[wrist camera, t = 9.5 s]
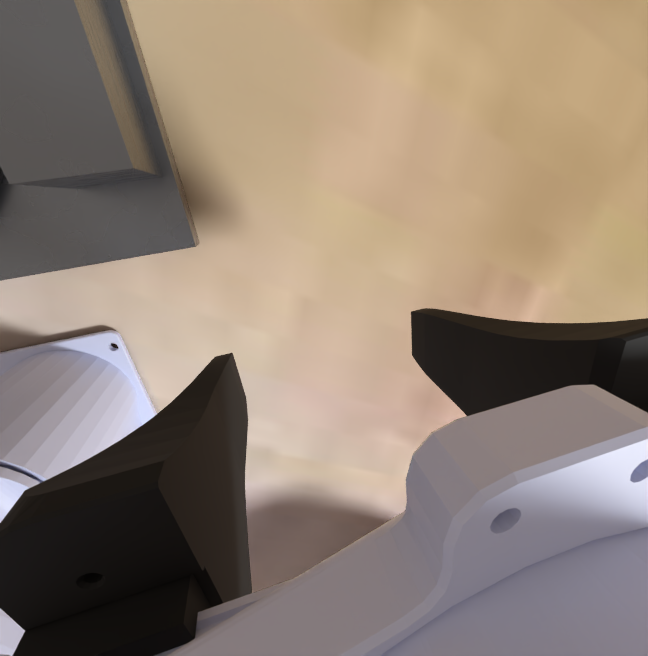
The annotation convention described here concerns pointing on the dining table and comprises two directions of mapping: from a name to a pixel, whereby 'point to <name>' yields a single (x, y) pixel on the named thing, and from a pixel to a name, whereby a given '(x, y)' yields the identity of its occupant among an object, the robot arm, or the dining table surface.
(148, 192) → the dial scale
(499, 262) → the dining table surface
